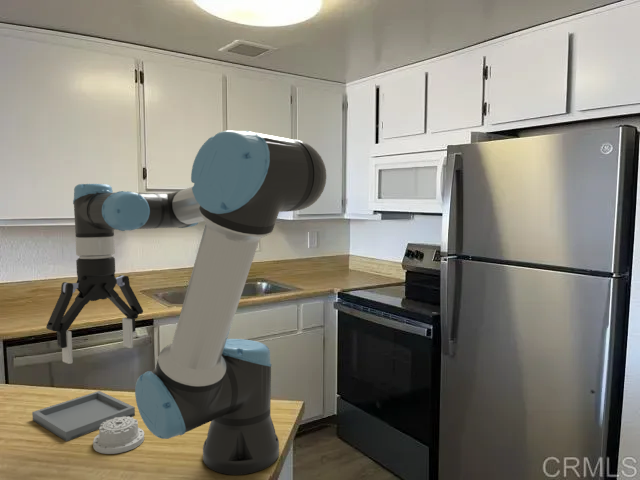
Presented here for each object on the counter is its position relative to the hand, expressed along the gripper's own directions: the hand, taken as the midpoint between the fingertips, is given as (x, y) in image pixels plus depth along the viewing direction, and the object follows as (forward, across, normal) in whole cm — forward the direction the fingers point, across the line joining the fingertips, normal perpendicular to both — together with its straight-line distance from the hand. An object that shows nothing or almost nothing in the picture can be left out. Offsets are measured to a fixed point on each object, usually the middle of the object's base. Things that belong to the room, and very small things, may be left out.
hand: (99, 354), depth 105 cm
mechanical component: (+18, 0, +6) cm, 19 cm away
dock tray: (+17, -2, -11) cm, 20 cm away
